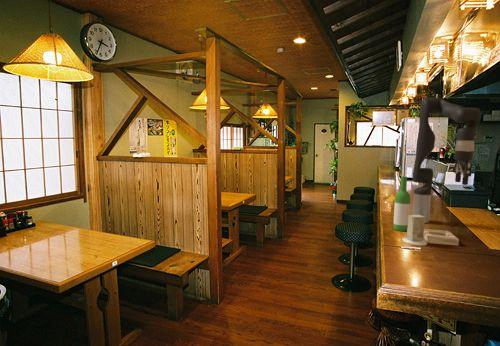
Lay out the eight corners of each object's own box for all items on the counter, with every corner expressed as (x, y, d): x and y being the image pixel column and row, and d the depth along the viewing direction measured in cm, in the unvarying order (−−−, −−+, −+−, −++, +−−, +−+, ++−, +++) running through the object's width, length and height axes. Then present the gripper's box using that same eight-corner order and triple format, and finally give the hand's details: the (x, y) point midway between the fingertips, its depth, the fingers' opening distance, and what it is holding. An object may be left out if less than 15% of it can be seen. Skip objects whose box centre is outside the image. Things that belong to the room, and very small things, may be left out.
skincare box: (412, 241, 156) (413, 217, 155) (406, 238, 160) (407, 214, 159) (423, 241, 157) (425, 216, 156) (417, 238, 162) (419, 214, 160)
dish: (400, 237, 165) (400, 235, 165) (423, 239, 163) (423, 237, 163) (404, 244, 155) (404, 242, 155) (429, 246, 152) (430, 244, 152)
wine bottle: (410, 232, 176) (413, 177, 173) (394, 231, 177) (398, 177, 174) (406, 228, 183) (409, 176, 180) (391, 227, 185) (394, 175, 182)
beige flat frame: (420, 234, 172) (420, 228, 172) (447, 236, 169) (448, 230, 169) (428, 243, 158) (429, 237, 157) (458, 245, 155) (458, 239, 154)
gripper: (450, 149, 162) (447, 181, 164) (461, 150, 148) (458, 185, 150) (466, 149, 160) (463, 181, 162) (480, 151, 147) (476, 186, 149)
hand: (461, 183), depth 156 cm, fingers open, 8 cm apart
